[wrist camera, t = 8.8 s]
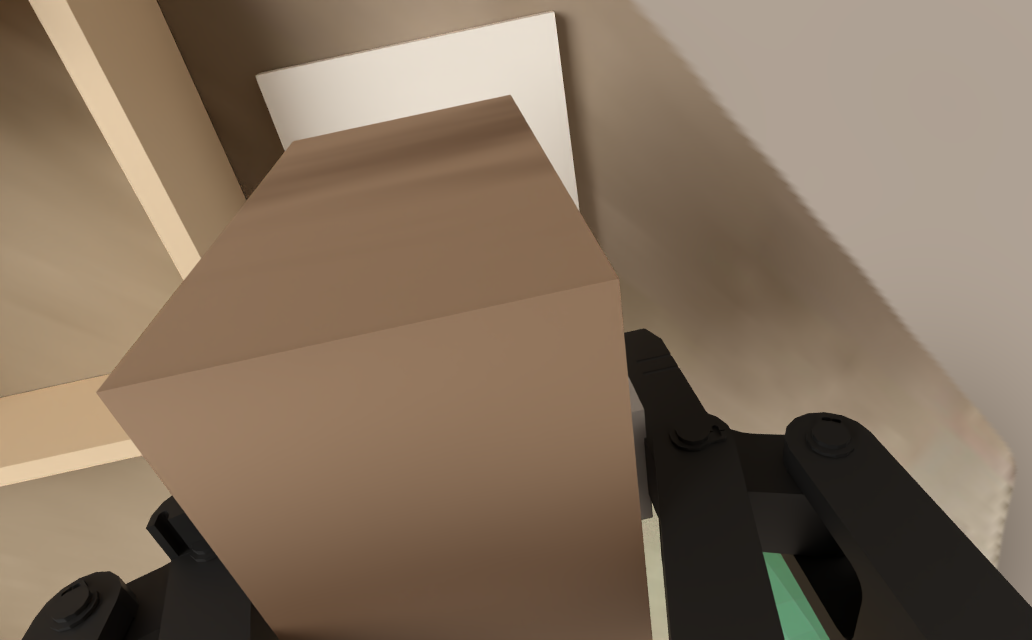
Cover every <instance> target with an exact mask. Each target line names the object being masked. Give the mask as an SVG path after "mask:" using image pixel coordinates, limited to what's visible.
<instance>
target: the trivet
mask: <svg viewBox="0 0 1032 640" xmlns="http://www.w3.org/2000/svg"><path fill="white" fill-rule="evenodd" d="M255 77H256V79H257V82H258V84H259V87H260V89H261V92H262V95H263V97H264V100H265V102H266V105H267V107H268V110H269V112H270V115H271V117H272V120H273V123H274V125H275V128H276V130H277V133H278V135H279V138H280V140H281V143H282V145H283V148H284V150H285V151H286V150H287V148H288V147H289V146H290V144H291V143H292V142H293V141H296V140H301V139H306V138H310V137H315V136H320V135H324V134H329V133H334V132H338V131H343V130H348V129H352V128H357V127H362V126H366V125H371V124H376V123H380V122H385V121H390V120H394V119H399V118H404V117H408V116H413V115H418V114H422V113H427V112H432V111H436V110H441V109H446V108H450V107H455V106H460V105H464V104H469V103H473V102H478V101H483V100H487V99H492V98H497V97H501V96H506V95H511V96H512V98H513V100H514V101H515V103H516V105H517V106H518V108H519V110H520V111H521V113H522V115H523V116H524V118H525V120H526V122H527V123H528V125H529V127H530V128H531V130H532V132H533V133H534V135H535V137H536V139H537V140H538V142H539V144H540V145H541V147H542V149H543V150H544V152H545V154H546V156H547V157H548V159H549V161H550V162H551V164H552V166H553V167H554V169H555V171H556V172H557V174H558V176H559V178H560V179H561V181H562V183H563V184H564V186H565V188H566V189H567V191H568V193H569V195H570V196H571V198H572V200H573V201H574V203H575V205H576V206H577V208H578V210H579V203H578V195H577V187H576V179H575V171H574V163H573V155H572V147H571V140H570V132H569V124H568V116H567V108H566V100H565V92H564V84H563V76H562V68H561V61H560V53H559V45H558V37H557V29H556V21H555V13H554V12H553V11H548V12H543V13H538V14H534V15H529V16H524V17H520V18H515V19H510V20H505V21H501V22H496V23H491V24H487V25H482V26H477V27H473V28H468V29H463V30H458V31H454V32H449V33H444V34H440V35H435V36H430V37H426V38H421V39H416V40H412V41H407V42H402V43H397V44H393V45H388V46H383V47H379V48H374V49H369V50H365V51H360V52H355V53H350V54H346V55H341V56H336V57H332V58H327V59H322V60H318V61H313V62H308V63H304V64H299V65H294V66H289V67H285V68H280V69H275V70H271V71H266V72H261V73H259V74H257V75H255ZM579 212H580V211H579Z"/></svg>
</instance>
